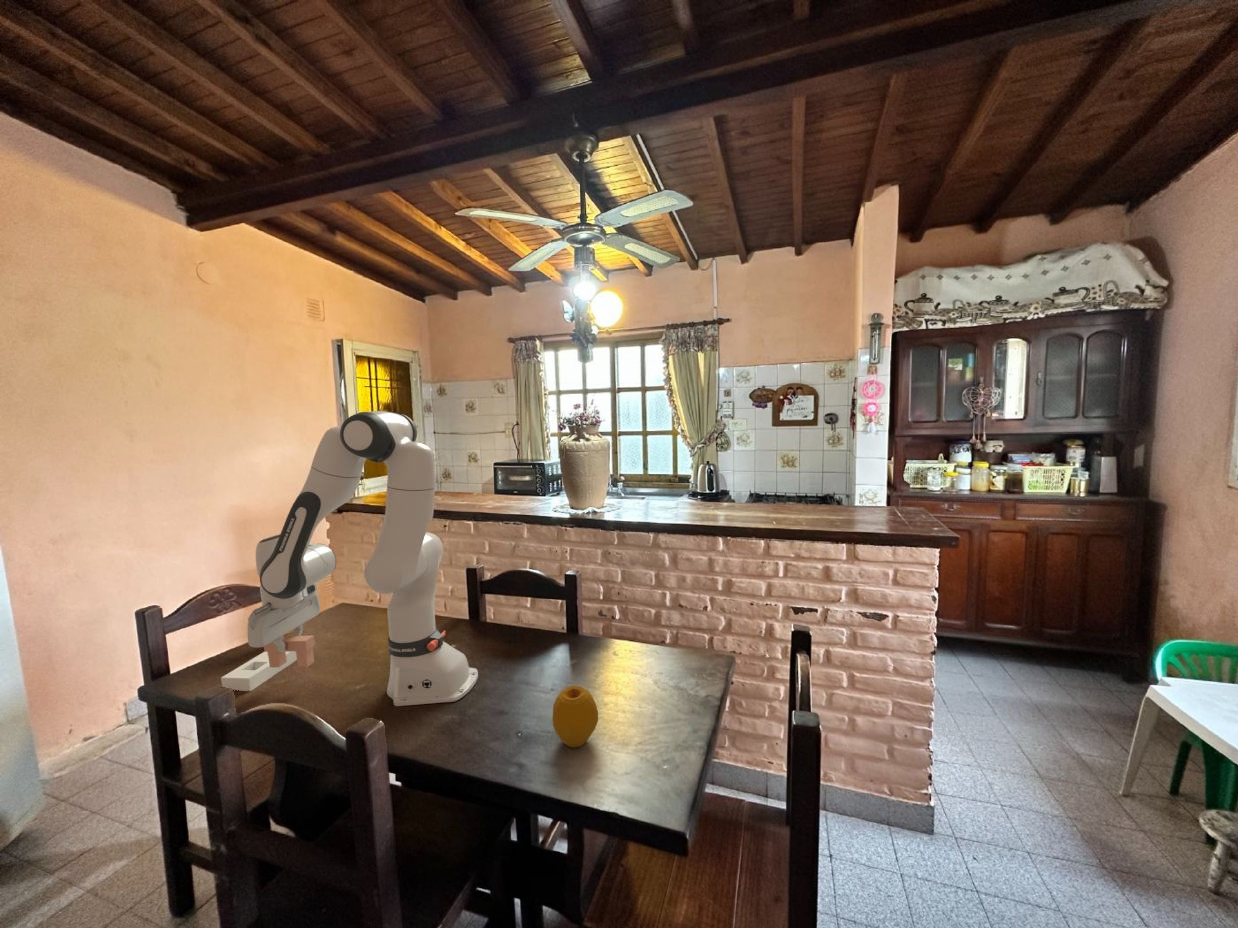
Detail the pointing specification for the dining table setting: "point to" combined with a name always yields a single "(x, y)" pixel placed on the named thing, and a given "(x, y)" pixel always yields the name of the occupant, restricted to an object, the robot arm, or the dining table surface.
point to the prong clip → (295, 643)
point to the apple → (574, 715)
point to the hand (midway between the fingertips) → (289, 646)
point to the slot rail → (254, 672)
